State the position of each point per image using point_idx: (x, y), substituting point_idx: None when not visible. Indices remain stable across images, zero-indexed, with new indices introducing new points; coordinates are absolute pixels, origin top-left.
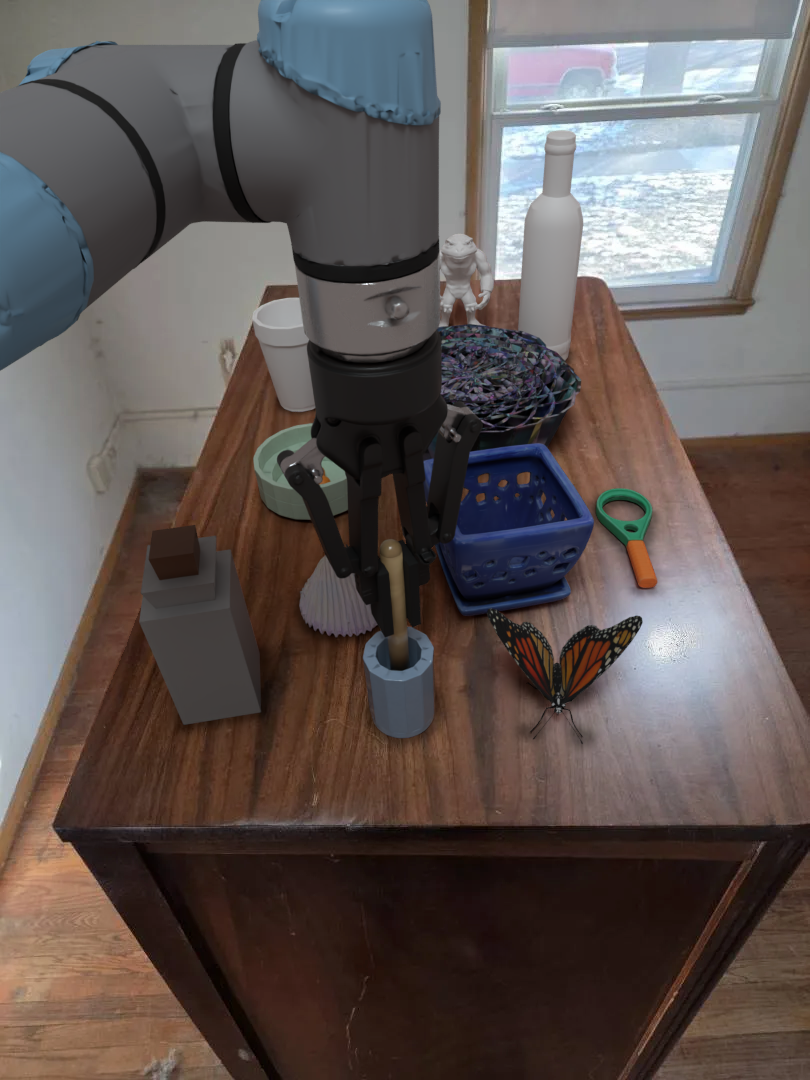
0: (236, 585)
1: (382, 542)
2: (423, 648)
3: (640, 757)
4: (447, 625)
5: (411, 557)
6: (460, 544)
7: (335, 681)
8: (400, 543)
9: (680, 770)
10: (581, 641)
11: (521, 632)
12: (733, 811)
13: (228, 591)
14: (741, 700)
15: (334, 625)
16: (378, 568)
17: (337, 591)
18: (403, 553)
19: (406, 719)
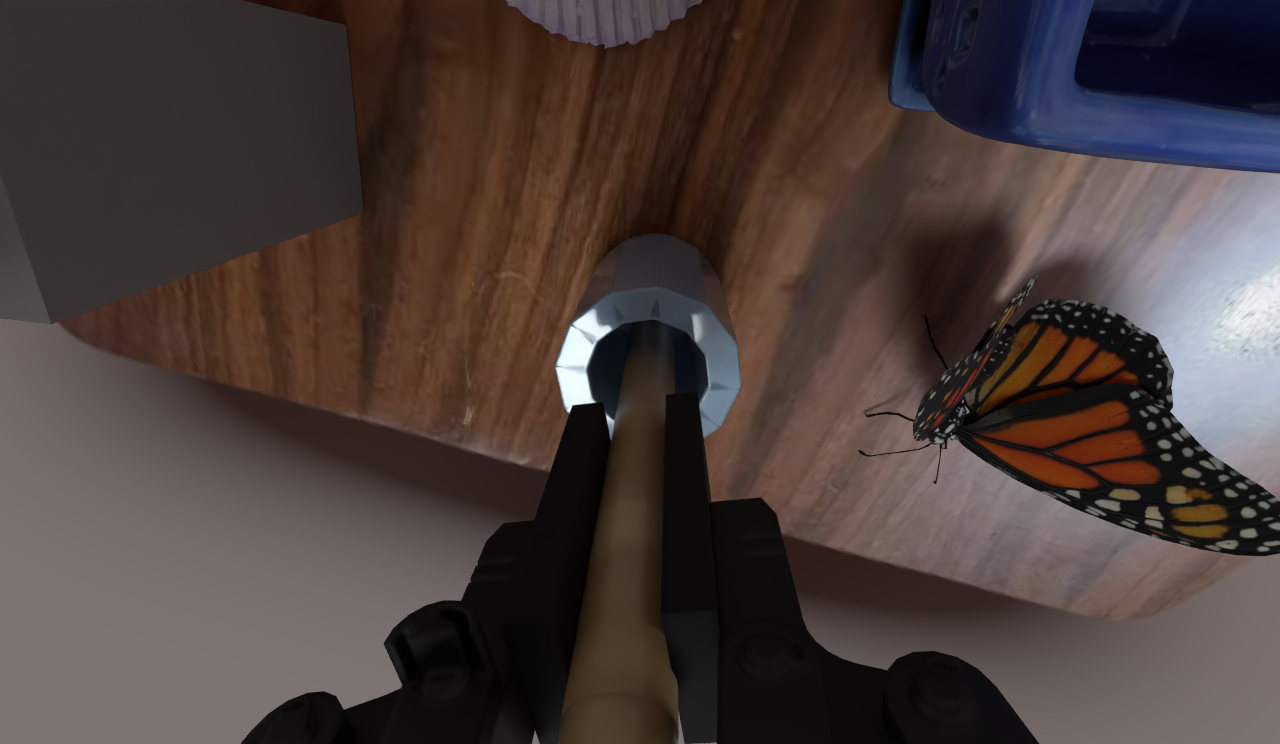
0: (89, 60)
1: (578, 742)
2: (714, 385)
3: (1008, 500)
4: (840, 83)
5: (715, 711)
6: (1026, 143)
7: (528, 178)
8: (694, 631)
9: (1049, 534)
10: (1104, 356)
11: (984, 354)
12: (1064, 599)
13: (15, 235)
14: (1266, 463)
15: (541, 7)
16: (548, 721)
17: None
18: (686, 686)
19: None
